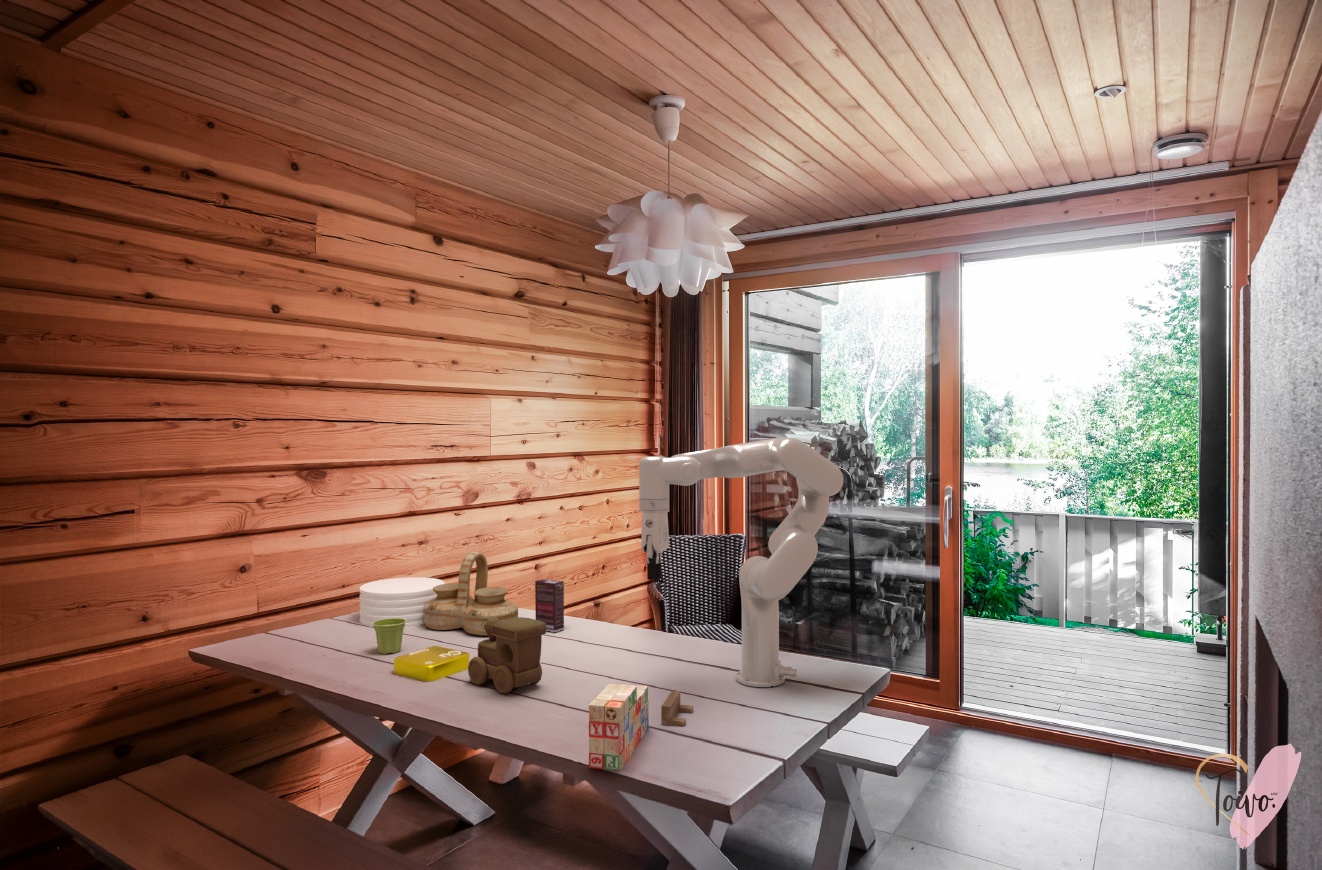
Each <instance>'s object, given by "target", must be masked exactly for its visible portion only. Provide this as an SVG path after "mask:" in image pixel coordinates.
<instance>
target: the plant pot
mask: <svg viewBox="0 0 1322 870" xmlns="http://www.w3.org/2000/svg"><path fill="white" fill-rule="evenodd" d="M405 623H406V620H405V619H401V618H389V619H382V620H378V621H375V622H373V623H372V625H373V626H374V627H373V628H374V631H375V636H376V643H377V644H376V645H377V651H378V653H379V654H383V655H388V654H390V653H391V654H396V653H398V652H401V651H402V650H401V649H402V643H403V635H404V628H405V627H404V626H405Z"/></svg>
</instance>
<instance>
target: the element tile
mask: <svg viewBox="0 0 1322 870" xmlns="http://www.w3.org/2000/svg"><path fill="white" fill-rule="evenodd" d="M469 662H470V653H469V652H467V651H462V650H457V649H453V648H448V647H443V646H438V645H434V646H433V645H432V646H430V647H426V648H423V649H419V650H416V651H412V652H410V653H406V654H403V655H399V656H396V657H394V658H393V674H394V675H397V676H401V677H406V678H409V679H413V680H416V681H422V682H425V683H427V682H429V683H430V681H431V682H435V680H436V681H438V680H437V679H439V680H441V679H444V678H447V677H450V676H452V674H453V675H455V673H456V674H458V673H461V672H464V671H467V670H468V665H469ZM466 669H467V670H466ZM463 670H464V671H463ZM449 675H450V676H449ZM446 676H447V677H446ZM443 677H444V678H443ZM440 678H441V679H440Z"/></svg>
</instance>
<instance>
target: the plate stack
mask: <svg viewBox="0 0 1322 870" xmlns="http://www.w3.org/2000/svg"><path fill="white" fill-rule="evenodd" d="M441 584H446V582H445V581H444V580H442V579H439V578H436V577H435V578H433V577H420V576H418V577H415V576H411V577H396V578H387V579H381V580H375V581H371V582H370V581H369V582H366V583H364V584H362V585H361V586H360V587H359V593H360V594H359V608H360V609H359V623H360V624H361V625H363V626H366V627H372V628H374V626H373V625H372V623H373V622H375V621H378V620H382V619H389V618H401V619H405V620H406V623H405V626H404V628H407V627H416V626H422V625H421V624H423V625H425V622H424V609H423V607H424V605H425V604H426V603H428V602H429V601H431V600H432V599H434V598H436V597H437V594H436V593H435V592H434V591H433V587H435V586H437V585H441Z"/></svg>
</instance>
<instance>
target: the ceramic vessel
mask: <svg viewBox="0 0 1322 870" xmlns="http://www.w3.org/2000/svg"><path fill="white" fill-rule="evenodd" d="M474 562H475V565H476V572H475V573H476V575H475V578H476V579H475V586H474V592H473V594H474V598H473V597H472V596H471V595H470V585H471V582H470V581H471V572H472V569H473V565H474ZM488 576H489V567H488V560H487V558H486V556H485V555H484V554H483V553H482V552H480V551H475V550H474V551H473V550H472V551H470V552H468V553H467V554H466V555H465V556H464V557H463V559H462V561H461V565H460V568H459V574H458V582H453V583H452V582H451V583H445V584H441V585H437V586H435V587H433V591H434V592H435V593H436V594H437V597H436V598H434V599H432V600H431V601H429V602H428V603H426V604H425V605H424V607H423V609H424V622H425V624H424V625H425V626H426V628H429V629H431V630H432V629H433V630H438V631H441V630H442V631H446V630H447V631H448V630H457V629H458V630H459V629H463V630H464V631H465V632H466V633H469V634H473V635H477V636H488V635H487V633H486V631H485V629H484V625H485V623H486V621H487V620H488V619H489V618H498V620H499V621H504V620H508V619H512V618H519V606H517V604H515V602H512V601H510V600H508V599H505V598H506V595H507V594H508V591H509V590H508V588H506V587H501V586H488V578H489V577H488Z"/></svg>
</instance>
